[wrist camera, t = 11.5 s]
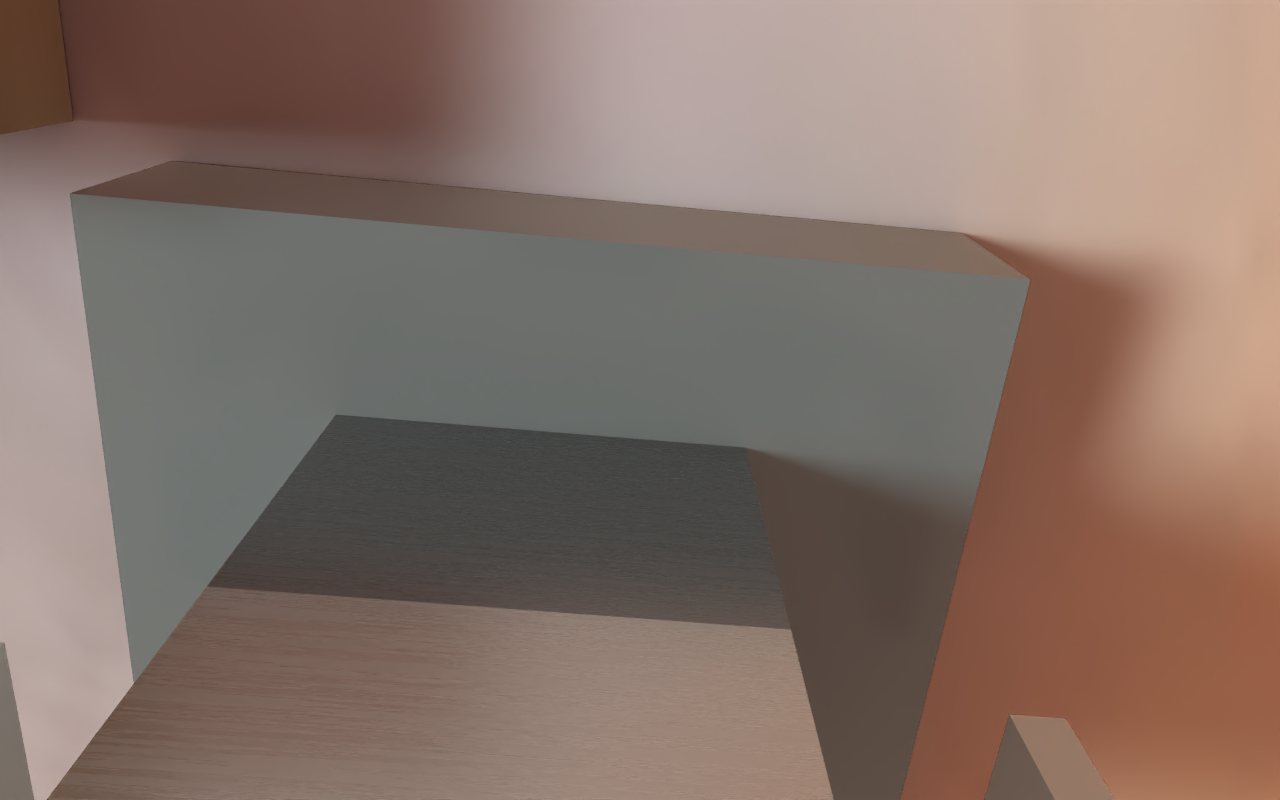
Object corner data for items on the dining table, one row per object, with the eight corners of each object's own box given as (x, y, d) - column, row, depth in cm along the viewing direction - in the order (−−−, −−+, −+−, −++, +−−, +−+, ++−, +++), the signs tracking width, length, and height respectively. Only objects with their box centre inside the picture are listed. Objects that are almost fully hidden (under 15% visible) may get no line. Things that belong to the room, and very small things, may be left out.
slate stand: (227, 783, 20) (162, 905, 18) (171, 160, 15) (70, 193, 13) (832, 823, 21) (862, 948, 18) (961, 233, 16) (1030, 279, 13)
